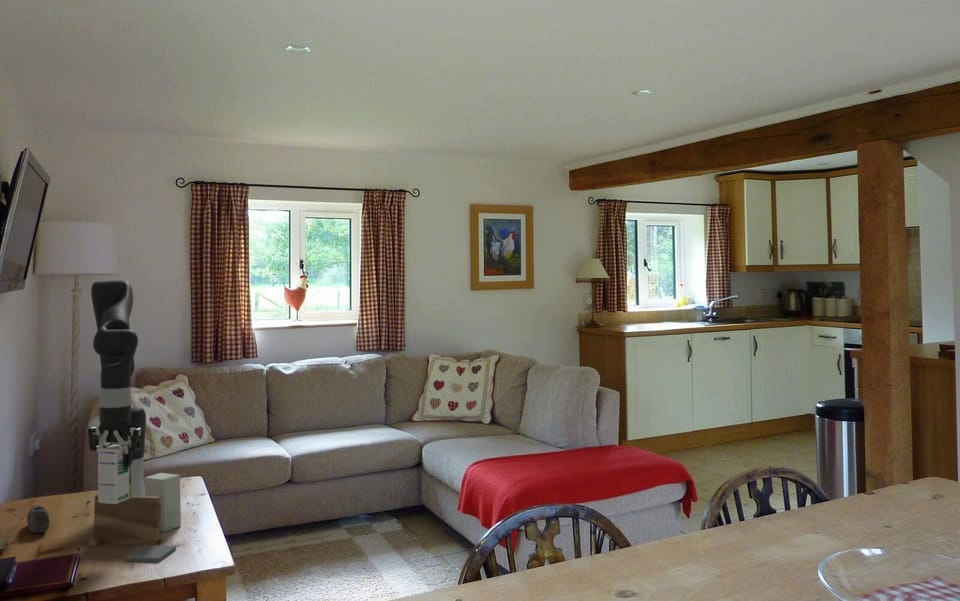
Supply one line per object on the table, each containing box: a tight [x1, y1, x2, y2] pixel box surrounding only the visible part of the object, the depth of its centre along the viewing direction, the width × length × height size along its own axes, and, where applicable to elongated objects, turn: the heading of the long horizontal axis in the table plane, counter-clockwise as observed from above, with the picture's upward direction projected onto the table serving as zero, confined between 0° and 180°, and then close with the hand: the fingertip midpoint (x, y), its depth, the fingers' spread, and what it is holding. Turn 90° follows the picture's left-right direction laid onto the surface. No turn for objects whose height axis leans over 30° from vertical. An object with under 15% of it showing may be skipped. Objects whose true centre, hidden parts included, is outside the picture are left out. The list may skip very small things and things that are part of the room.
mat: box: [124, 545, 177, 563], centre depth 188 cm, size 9×9×1 cm
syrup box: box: [97, 444, 131, 504], centre depth 189 cm, size 6×6×14 cm
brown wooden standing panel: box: [89, 494, 165, 547], centre depth 197 cm, size 6×18×13 cm, turn 86°
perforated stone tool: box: [26, 504, 51, 534], centre depth 208 cm, size 15×5×7 cm, turn 36°
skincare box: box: [143, 472, 182, 533], centre depth 211 cm, size 8×7×16 cm
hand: (114, 466), depth 189 cm, fingers closed on syrup box, 6 cm apart
